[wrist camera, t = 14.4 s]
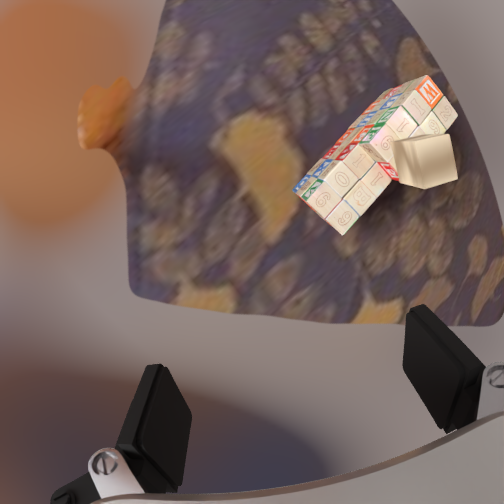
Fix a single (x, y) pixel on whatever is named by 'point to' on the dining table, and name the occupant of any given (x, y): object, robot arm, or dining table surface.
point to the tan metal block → (424, 160)
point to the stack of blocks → (372, 151)
